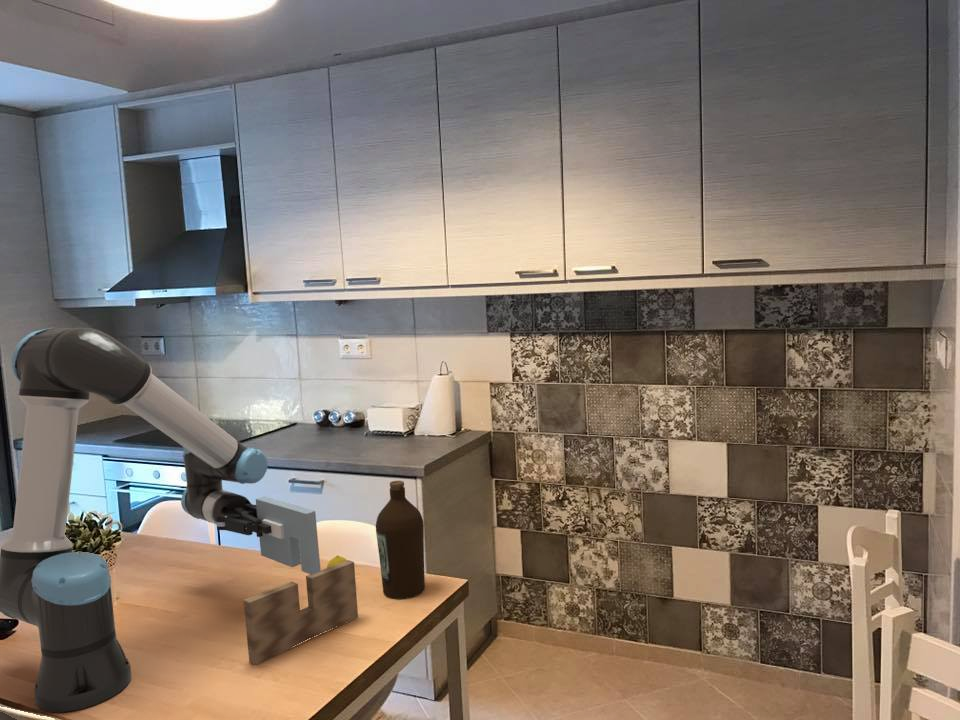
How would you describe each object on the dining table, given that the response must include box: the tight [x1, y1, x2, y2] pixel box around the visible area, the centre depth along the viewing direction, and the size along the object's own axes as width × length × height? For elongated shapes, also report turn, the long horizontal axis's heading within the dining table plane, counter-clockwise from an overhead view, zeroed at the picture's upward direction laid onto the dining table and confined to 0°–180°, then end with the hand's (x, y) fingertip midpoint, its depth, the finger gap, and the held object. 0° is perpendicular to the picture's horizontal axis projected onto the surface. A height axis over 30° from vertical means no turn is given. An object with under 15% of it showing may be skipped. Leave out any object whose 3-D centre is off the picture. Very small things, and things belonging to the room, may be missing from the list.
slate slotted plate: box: [255, 496, 322, 575], centre depth 147 cm, size 18×2×12 cm, turn 48°
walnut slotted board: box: [243, 559, 359, 666], centre depth 146 cm, size 24×2×12 cm, turn 137°
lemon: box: [326, 555, 348, 568], centre depth 169 cm, size 6×6×8 cm
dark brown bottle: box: [375, 480, 426, 600], centre depth 166 cm, size 11×11×25 cm
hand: (288, 529), depth 147 cm, fingers closed on slate slotted plate, 2 cm apart
